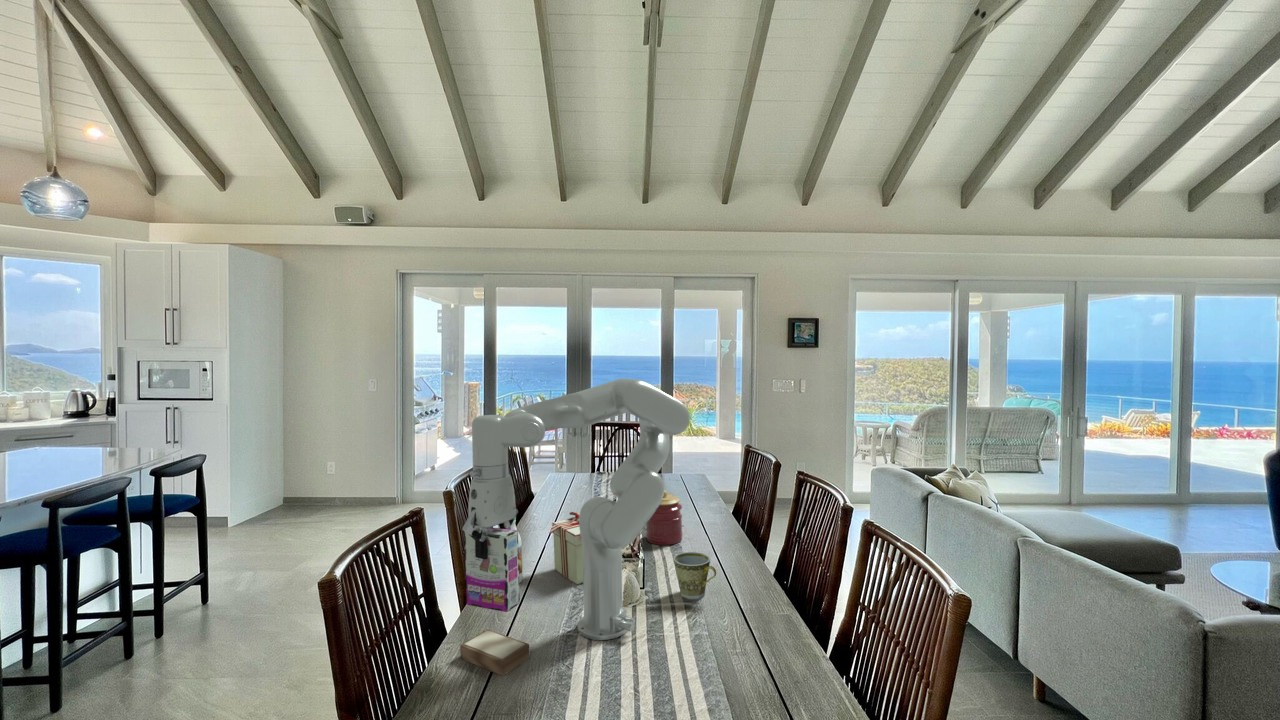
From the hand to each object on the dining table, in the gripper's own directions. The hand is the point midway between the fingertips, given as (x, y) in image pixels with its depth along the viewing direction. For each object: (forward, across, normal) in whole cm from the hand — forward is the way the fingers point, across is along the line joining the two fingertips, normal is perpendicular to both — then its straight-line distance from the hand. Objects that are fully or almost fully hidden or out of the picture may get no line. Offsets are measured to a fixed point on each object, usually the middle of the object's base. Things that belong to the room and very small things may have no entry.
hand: (492, 552), depth 122 cm
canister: (+24, +85, +5) cm, 88 cm away
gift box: (+24, +47, +12) cm, 54 cm away
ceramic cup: (+24, +50, -25) cm, 61 cm away
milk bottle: (+24, +31, +27) cm, 48 cm away
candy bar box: (+12, 0, 0) cm, 12 cm away
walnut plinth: (+23, 0, 0) cm, 23 cm away
